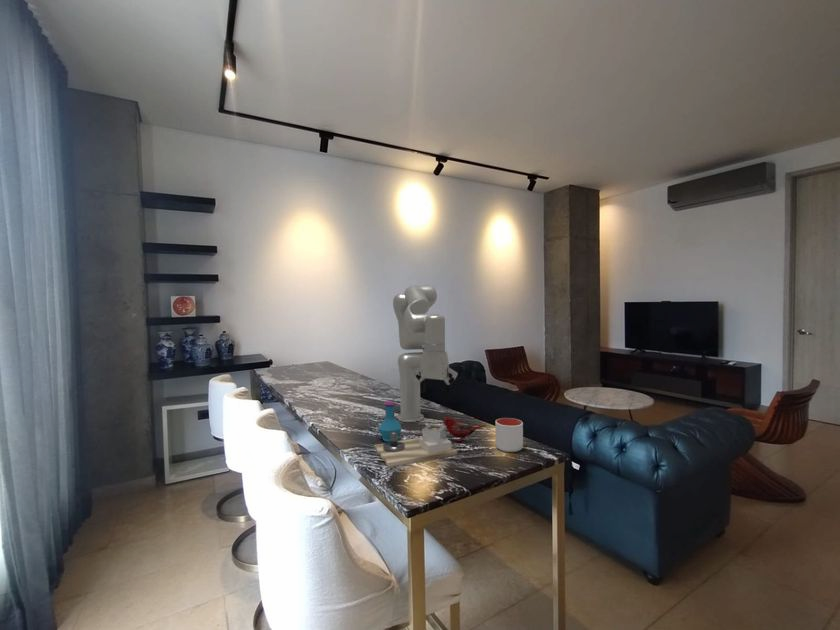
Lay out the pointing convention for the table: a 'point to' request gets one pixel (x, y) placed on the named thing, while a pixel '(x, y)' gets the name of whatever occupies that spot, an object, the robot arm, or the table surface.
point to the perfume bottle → (389, 422)
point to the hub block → (435, 446)
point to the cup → (509, 434)
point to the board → (410, 454)
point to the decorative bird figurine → (459, 428)
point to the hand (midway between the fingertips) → (435, 393)
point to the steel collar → (434, 433)
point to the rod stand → (393, 444)
